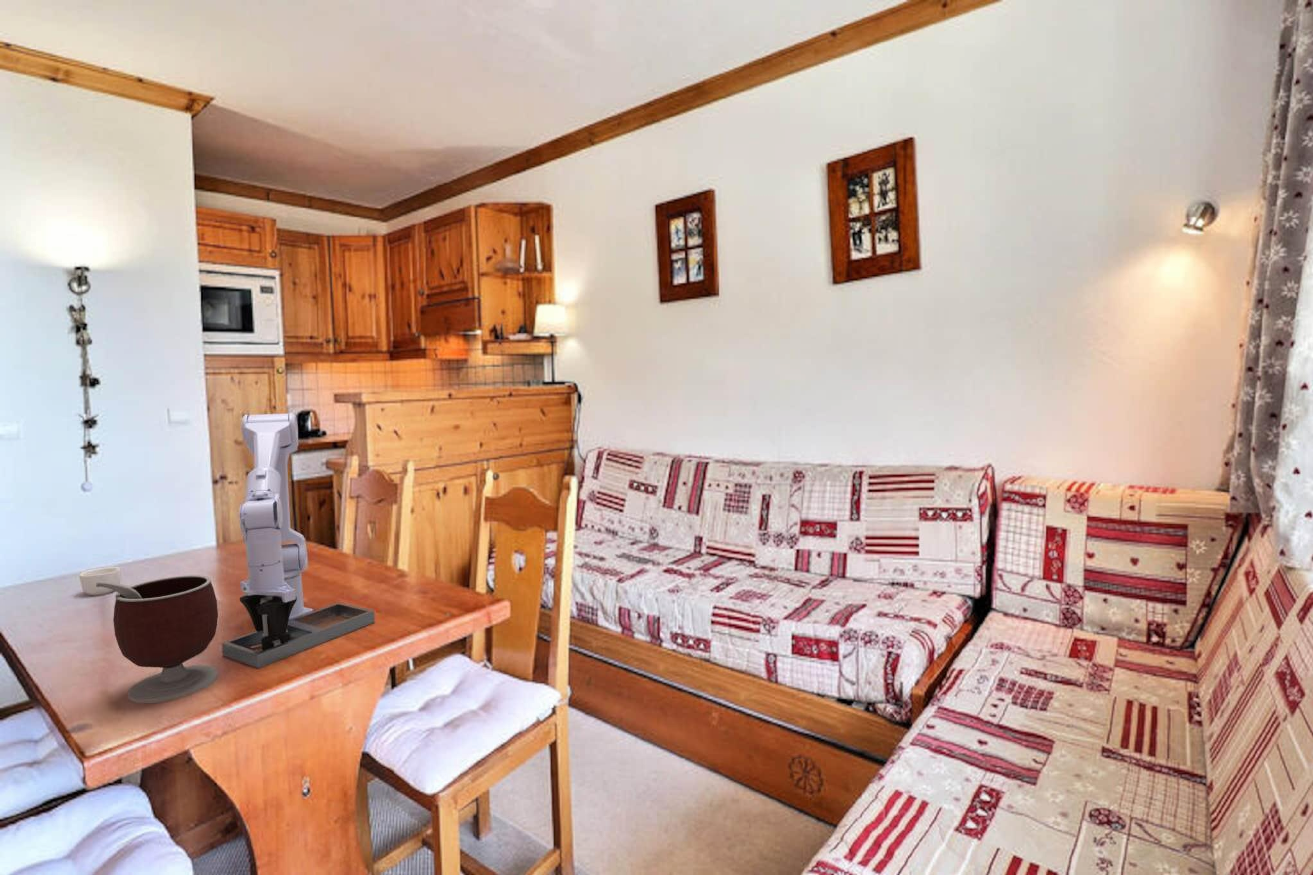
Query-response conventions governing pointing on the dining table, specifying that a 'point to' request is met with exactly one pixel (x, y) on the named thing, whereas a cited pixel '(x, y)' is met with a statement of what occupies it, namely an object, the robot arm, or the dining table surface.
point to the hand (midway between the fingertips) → (271, 632)
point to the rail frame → (300, 634)
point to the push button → (269, 630)
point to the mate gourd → (166, 633)
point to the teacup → (99, 580)
